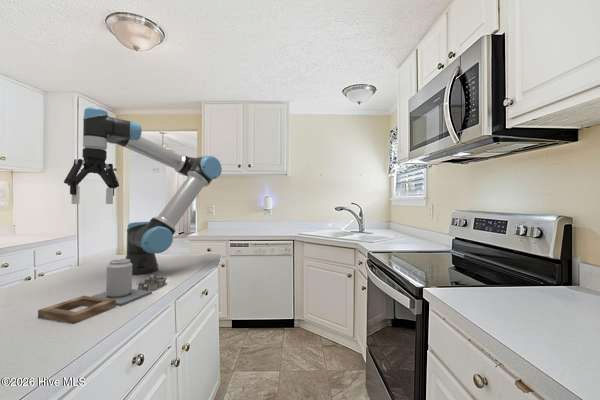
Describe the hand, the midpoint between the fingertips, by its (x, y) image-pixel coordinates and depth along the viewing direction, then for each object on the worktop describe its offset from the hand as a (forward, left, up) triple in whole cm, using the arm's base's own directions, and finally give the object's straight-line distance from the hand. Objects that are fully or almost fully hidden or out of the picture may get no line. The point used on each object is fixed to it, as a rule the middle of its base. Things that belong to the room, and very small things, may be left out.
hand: (93, 204), depth 109 cm
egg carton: (-7, +21, -32) cm, 39 cm away
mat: (+6, +20, -32) cm, 38 cm away
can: (+6, +20, -31) cm, 37 cm away
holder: (+20, +20, -32) cm, 42 cm away
